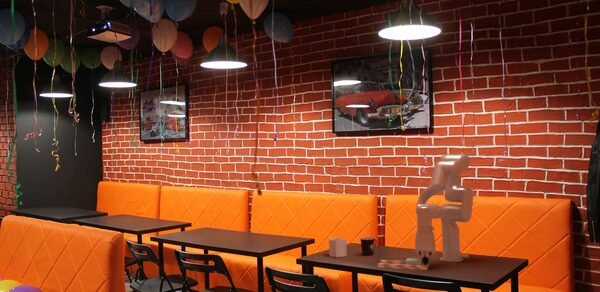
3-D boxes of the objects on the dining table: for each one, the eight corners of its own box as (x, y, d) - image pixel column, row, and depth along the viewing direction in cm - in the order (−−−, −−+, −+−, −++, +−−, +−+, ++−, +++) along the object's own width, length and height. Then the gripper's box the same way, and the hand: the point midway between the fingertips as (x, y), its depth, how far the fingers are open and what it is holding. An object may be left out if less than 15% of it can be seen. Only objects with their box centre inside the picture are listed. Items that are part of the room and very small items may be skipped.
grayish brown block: (422, 266, 283) (422, 258, 283) (421, 268, 277) (420, 261, 277) (407, 265, 285) (407, 258, 285) (405, 268, 279) (405, 260, 279)
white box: (341, 253, 329) (340, 237, 329) (351, 256, 318) (350, 239, 318) (326, 255, 324) (325, 238, 324) (335, 258, 313) (335, 241, 314)
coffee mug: (364, 256, 316) (363, 240, 316) (358, 254, 324) (358, 237, 324) (382, 255, 319) (381, 238, 319) (376, 252, 327) (375, 236, 327)
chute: (429, 267, 283) (429, 262, 283) (427, 271, 274) (426, 266, 274) (381, 264, 292) (381, 259, 292) (377, 269, 283) (377, 263, 283)
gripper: (439, 228, 280) (440, 263, 280) (411, 228, 285) (412, 262, 285) (438, 230, 273) (439, 266, 273) (409, 230, 278) (410, 265, 278)
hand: (425, 264), depth 279 cm, fingers closed
